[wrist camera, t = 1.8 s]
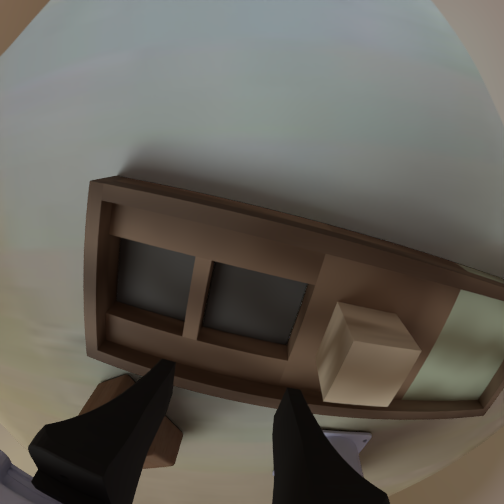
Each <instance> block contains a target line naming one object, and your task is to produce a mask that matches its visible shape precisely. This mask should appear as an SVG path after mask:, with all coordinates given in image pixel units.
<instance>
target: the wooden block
mask: <svg viewBox="0 0 504 504" xmlns="http://www.w3.org/2000/svg"><path fill="white" fill-rule="evenodd" d="M133 384H135V382H134V381H133V379H132V378H131V377H130V376H129V375H126V374H125V375H123V376H120V377H117V378H114V379H111V380H108V381H105V382H102V383H99V384H98V386H97V387H96V389H95V390H94V392H93V393H92V395H91V396H90V398H89V399H88V401H87V402H86V404H85V406H84V407H83V409H82V410H81V412H80V413H79V415H82V414H84V413H87V412H89V411H91V410H93V409H95V408H97V407H99V406H101V405H103V404H105V403H107V402H109V401H110V400H112V399H114V398H115V397H117V396H118V395H120V394H121V393H123V392H124V391H125V390H127V389H128V388H129V387H131V386H132V385H133ZM79 415H78V416H79ZM182 437H183V434H182V432H181V431H180V430H179V429H178V428H177V427H176V426H175V425H174V424H173V423H172V422H171V421H170V420H169V419H168V418H167V417H166V416H164V418H163V420H162V422H161V425H160V427H159V429H158V431H157V433H156V435H155V437H154V440H153V442H152V444H151V446H150V448H149V451H148V453H147V456H146V459H145V462H144V465H143V469H146V468H158V467H168V466H173V465H174V464H175V461H176V458H177V454H178V451H179V447H180V444H181V440H182Z"/></svg>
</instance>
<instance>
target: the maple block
mask: <svg viewBox="0 0 504 504" xmlns="http://www.w3.org/2000/svg"><path fill="white" fill-rule="evenodd" d="M420 353H421V349H420V348H419V346H418V345H417V343H416V342H415V340H414V339H413V337H412V336H411V335H410V333H409V332H408V330H407V329H406V327H405V326H404V324H403V323H402V322H401V320H400V319H399V317H398V316H397V315H396V314H394V313H389V312H384V311H379V310H374V309H370V308H365V307H360V306H355V305H351V304H346V303H341V302H337V304H336V307H335V309H334V312H333V314H332V317H331V319H330V322H329V324H328V327H327V329H326V332H325V334H324V337H323V339H322V342H321V344H320V346H319V349H318V351H317V353H316V356H315V360H316V365H317V370H318V375H319V381H320V386H321V391H322V397H323V401H324V402H333V403H342V404H353V405H365V406H380V407H388V406H389V404H390V403H391V401H392V399H393V398H394V396H395V395H396V393H397V392H398V390H399V389H400V387H401V385H402V384H403V382H404V381H405V379H406V377H407V376H408V374H409V372H410V371H411V369H412V367H413V365H414V364H415V362H416V360H417V358H418V357H419V355H420Z"/></svg>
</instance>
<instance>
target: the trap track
mask: <svg viewBox="0 0 504 504" xmlns="http://www.w3.org/2000/svg"><path fill="white" fill-rule="evenodd" d="M120 242H121V244H120ZM119 254H120V255H119ZM215 261H216V263H215V268H214V273H213V278H212V283H211V288H210V293H209V298H208V303H207V308H206V313H205V318H204V323H203V317H204V312H205V307H206V302H207V297H208V292H209V287H210V282H211V277H212V272H213V267H214V262H215ZM118 267H119V268H118ZM117 283H118V285H117ZM307 283H308V285H307ZM306 286H307V288H306ZM305 289H306V291H305ZM304 292H305V294H304ZM303 295H304V297H303ZM302 298H303V300H302ZM301 301H302V303H301ZM337 302H341V303H346V304H351V305H355V306H360V307H365V308H370V309H374V310H379V311H384V312H389V313H394V314H396V315H397V316H398V317H399V319H400V320H401V322H402V323H403V324H404V326H405V327H406V329H407V330H408V332H409V333H410V335H411V336H412V337H413V339H414V340H415V342H416V343H417V345H418V346H419V348H420V349H421V353H420V355H419V357H418V358H417V360H416V362H415V364H414V365H413V367H412V369H411V371H410V372H409V374H408V376H407V377H406V379H405V381H404V382H403V384H402V385H401V387H400V389H399V390H398V392H397V393H396V395H395V396H394V398H393V399H392V401H391V403H390V404H389V406H388V407H380V406H365V405H353V404H342V403H333V402H324V401H323V397H322V391H321V386H320V381H319V375H318V370H317V365H316V360H315V356H316V353H317V351H318V349H319V346H320V344H321V342H322V339H323V337H324V334H325V332H326V329H327V327H328V324H329V322H330V319H331V317H332V314H333V312H334V309H335V307H336V304H337ZM300 304H301V306H300ZM299 307H300V309H299ZM298 310H299V312H298ZM297 313H298V315H297ZM296 315H297V318H296ZM295 318H296V320H295ZM84 321H85V338H86V350H87V356H89V357H91V358H94V359H96V360H99V361H101V362H104V363H107V364H109V365H112V366H115V367H117V368H120V369H123V370H126V371H129V372H132V373H135V374H138V375H141V376H144V375H145V374H146V373H147V372H148V371H150V370H151V369H152V368H153V367H154V366H155V365H156V364H157V363H158V361H159V360H160V359H166V360H170V361H173V362H176V366H175V374H174V382H173V386H177V387H180V388H184V389H187V390H191V391H195V392H199V393H203V394H207V395H211V396H215V397H220V398H224V399H228V400H233V401H238V402H243V403H248V404H253V405H258V406H264V407H270V408H275V409H278V407H279V404H280V402H281V400H282V398H283V395H284V393H285V391H286V388H287V387H288V388H294V389H300V390H301V392H302V394H303V396H304V398H305V400H306V402H307V404H308V406H309V408H310V410H311V412H312V414H319V415H329V416H339V417H352V418H368V419H399V420H417V419H447V418H463V417H474V416H484V414H485V413H486V412H487V410H488V409H489V408H490V406H491V405H492V404H493V402H494V401H495V400H496V398H497V397H498V395H499V394H500V392H501V391H502V389H503V388H504V279H502V278H499V277H496V276H493V275H490V274H487V273H485V272H482V271H479V270H476V269H473V268H470V267H467V266H464V265H461V264H458V263H455V262H452V261H449V260H446V259H443V258H440V257H437V256H433V255H430V254H427V253H424V252H421V251H418V250H414V249H411V248H408V247H405V246H401V245H398V244H395V243H391V242H388V241H385V240H381V239H378V238H374V237H371V236H367V235H364V234H360V233H357V232H353V231H350V230H346V229H343V228H339V227H335V226H332V225H328V224H324V223H321V222H317V221H313V220H309V219H306V218H302V217H298V216H294V215H290V214H286V213H282V212H278V211H274V210H270V209H266V208H262V207H258V206H254V205H250V204H246V203H242V202H238V201H233V200H229V199H225V198H220V197H216V196H212V195H207V194H203V193H198V192H194V191H189V190H184V189H180V188H175V187H170V186H166V185H161V184H156V183H151V182H146V181H141V180H136V179H131V178H125V177H120V176H112V177H107V178H102V179H97V180H92V181H90V185H89V193H88V203H87V213H86V226H85V243H84ZM294 321H295V323H294ZM202 323H203V326H202ZM293 324H294V326H293ZM292 327H293V329H292ZM291 330H292V332H291ZM290 333H291V335H290ZM289 335H290V337H289ZM288 338H289V340H288ZM287 341H288V343H287ZM286 344H287V345H286Z"/></svg>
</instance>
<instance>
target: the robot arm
mask: <svg viewBox="0 0 504 504" xmlns="http://www.w3.org/2000/svg"><path fill="white" fill-rule="evenodd" d="M175 366H176V362H173V361H170V360H166V359H160V360H159V361H158V363H157V364H156V365H155V366H154V367H153V368H152V369H151V370H150V371H148V372H147V373H146V374H145V375H144V376H143V377H142V378H141V379H139V380H138V381H137V382H136V383H135V384H133V385H132V386H131V387H129V388H128V389H127V390H125V391H124V392H123V393H121V394H120V395H118V396H117V397H115V398H114V399H112V400H110V401H109V402H107V403H105V404H103V405H101V406H99V407H97V408H95V409H93V410H91V411H89V412H87V413H84V414H82V415H79V416H76V417H73V418H71V419H68V420H64V421H60V422H56V423H52V424H47V425H45V426H44V427H43V428H42V429H41V430H40V431H39V432H38V433H37V435H36V436H35V437H34V439H33V440H32V442H31V443H30V445H29V446H28V450H29V453H30V455H31V457H32V459H33V460H34V462H35V464H36V466H37V468H38V471H37V472H36V474H35V476H34V477H32V476H30V475H28V474H27V473H25V472H24V471H22V470H21V469H19V468H18V467H16V466H15V465H13V464H12V463H11V461H10V459H9V457H8V456H7V455H6V454H5V453H4V452H3V451H1V450H0V504H132V502H133V499H134V495H135V492H136V488H137V485H138V481H139V478H140V475H141V471H142V468H143V465H144V462H145V459H146V456H147V453H148V451H149V448H150V446H151V444H152V442H153V440H154V437H155V435H156V433H157V431H158V429H159V427H160V425H161V422H162V420H163V418H164V416H165V414H166V411H167V408H168V405H169V402H170V399H171V396H172V391H173V382H174V374H175ZM371 437H372V435H371V433H366V432H345V431H330V430H322V429H321V428H320V426H319V424H318V423H317V421H316V419H315V417H314V416H313V414H312V412H311V410H310V408H309V406H308V404H307V402H306V400H305V398H304V396H303V394H302V392H301V390H300V389H294V388H288V387H287V388H286V391H285V393H284V395H283V398H282V400H281V402H280V404H279V407H278V409H277V411H276V413H275V415H274V423H273V434H272V438H273V461H274V471H273V476H274V489H273V500H272V504H390V502H389V499H388V496H387V494H386V493H385V492H383V491H382V490H380V489H379V488H377V487H376V486H374V485H373V484H371V483H370V482H369V481H367V480H366V479H365V478H364V477H363V472H362V468H361V463H360V459H359V453H360V451H361V450H362V449H363V448H364V446H365V445H366V444H367V443H368V441H369V440H370V439H371Z"/></svg>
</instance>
